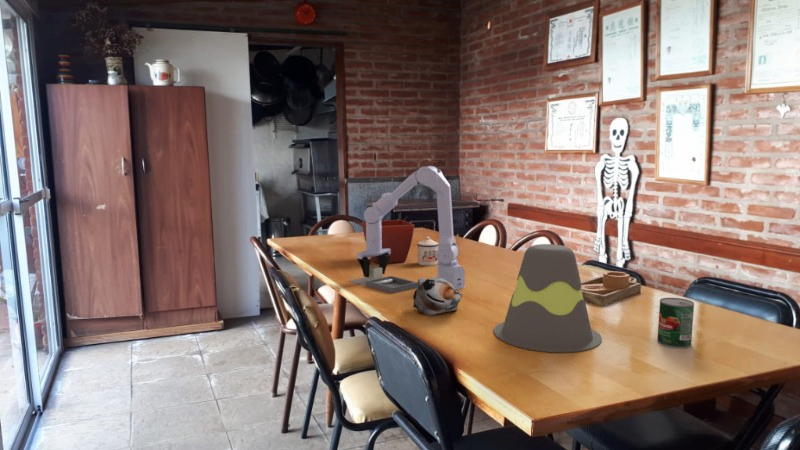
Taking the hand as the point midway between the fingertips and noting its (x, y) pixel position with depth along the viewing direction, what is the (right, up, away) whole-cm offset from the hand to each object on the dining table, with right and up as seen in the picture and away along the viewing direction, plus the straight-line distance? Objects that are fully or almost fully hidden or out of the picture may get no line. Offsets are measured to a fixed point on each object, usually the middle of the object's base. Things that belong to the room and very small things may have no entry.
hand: (374, 275), depth 212 cm
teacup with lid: (+23, +2, +34) cm, 41 cm away
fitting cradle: (+78, -5, -17) cm, 80 cm away
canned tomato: (+80, -12, -66) cm, 104 cm away
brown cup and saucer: (+79, -5, -17) cm, 81 cm away
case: (+7, -4, -8) cm, 11 cm away
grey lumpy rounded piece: (+21, -8, -37) cm, 44 cm away
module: (0, -2, 0) cm, 2 cm away
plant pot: (+4, +3, +42) cm, 42 cm away
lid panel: (-2, -3, +1) cm, 4 cm away
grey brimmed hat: (+49, -11, -59) cm, 77 cm away
